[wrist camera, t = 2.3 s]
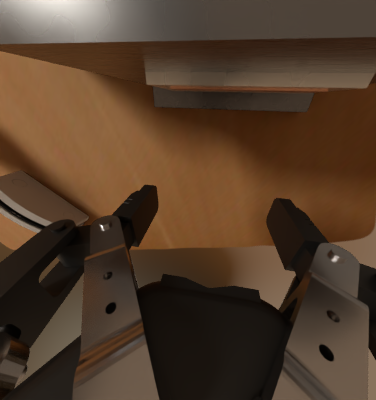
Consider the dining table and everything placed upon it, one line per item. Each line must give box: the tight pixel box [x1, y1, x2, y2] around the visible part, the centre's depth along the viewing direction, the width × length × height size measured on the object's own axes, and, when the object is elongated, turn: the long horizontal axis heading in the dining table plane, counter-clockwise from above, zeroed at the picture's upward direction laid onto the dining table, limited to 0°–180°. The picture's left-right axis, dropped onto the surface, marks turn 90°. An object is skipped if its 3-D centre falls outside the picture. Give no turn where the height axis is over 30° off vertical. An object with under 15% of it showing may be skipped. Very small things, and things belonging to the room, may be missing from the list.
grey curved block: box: [0, 170, 89, 233], centre depth 32 cm, size 17×5×10 cm, turn 45°
